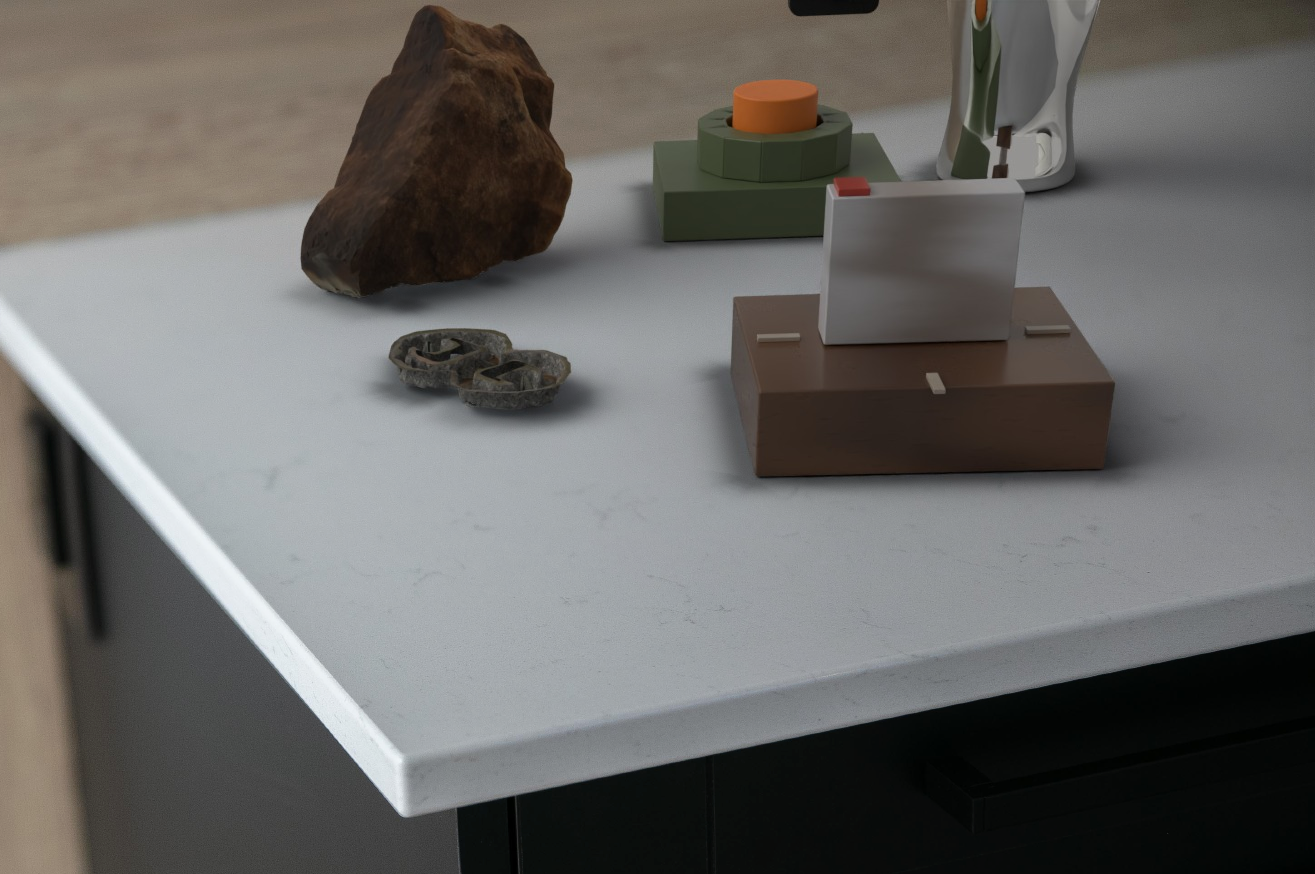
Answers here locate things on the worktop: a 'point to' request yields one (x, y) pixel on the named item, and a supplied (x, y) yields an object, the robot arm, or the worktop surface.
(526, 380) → the corroded twin loop
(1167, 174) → the worktop surface
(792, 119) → the button
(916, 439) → the block
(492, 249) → the decorative rock
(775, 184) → the button box
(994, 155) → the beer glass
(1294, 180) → the worktop surface
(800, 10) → the robot arm
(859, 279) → the tap handle
